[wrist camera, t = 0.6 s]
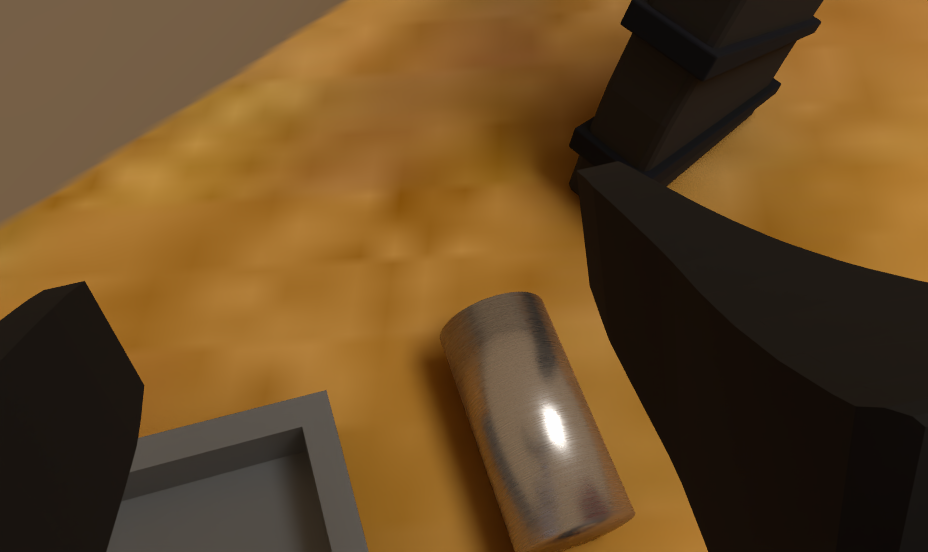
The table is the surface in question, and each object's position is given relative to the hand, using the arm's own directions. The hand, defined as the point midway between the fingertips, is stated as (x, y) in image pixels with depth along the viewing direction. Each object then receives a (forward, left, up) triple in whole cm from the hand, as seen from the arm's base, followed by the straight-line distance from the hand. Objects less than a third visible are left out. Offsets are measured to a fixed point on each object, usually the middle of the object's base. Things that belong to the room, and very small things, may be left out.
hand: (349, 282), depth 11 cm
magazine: (+14, -19, -17) cm, 29 cm away
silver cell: (+2, -7, -17) cm, 19 cm away
